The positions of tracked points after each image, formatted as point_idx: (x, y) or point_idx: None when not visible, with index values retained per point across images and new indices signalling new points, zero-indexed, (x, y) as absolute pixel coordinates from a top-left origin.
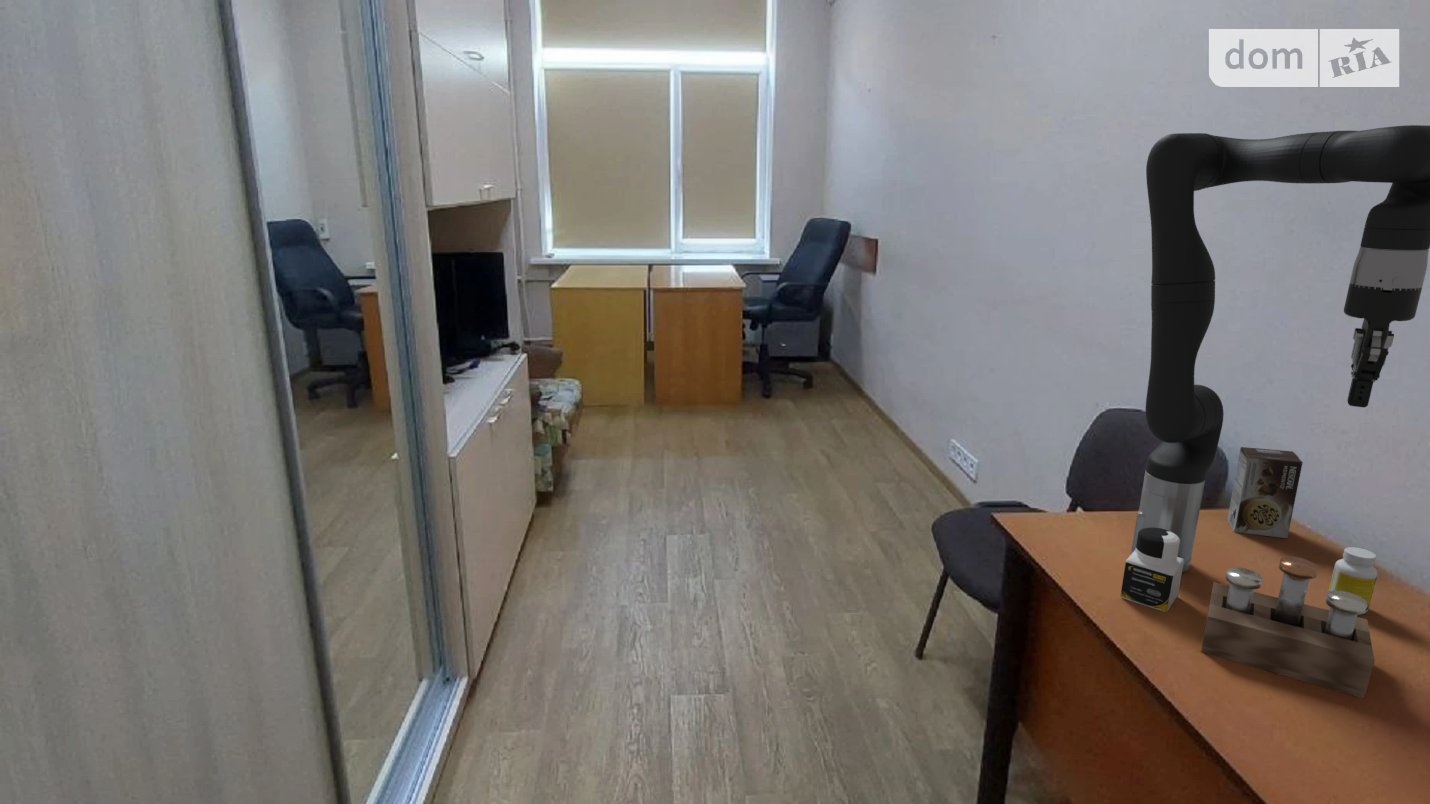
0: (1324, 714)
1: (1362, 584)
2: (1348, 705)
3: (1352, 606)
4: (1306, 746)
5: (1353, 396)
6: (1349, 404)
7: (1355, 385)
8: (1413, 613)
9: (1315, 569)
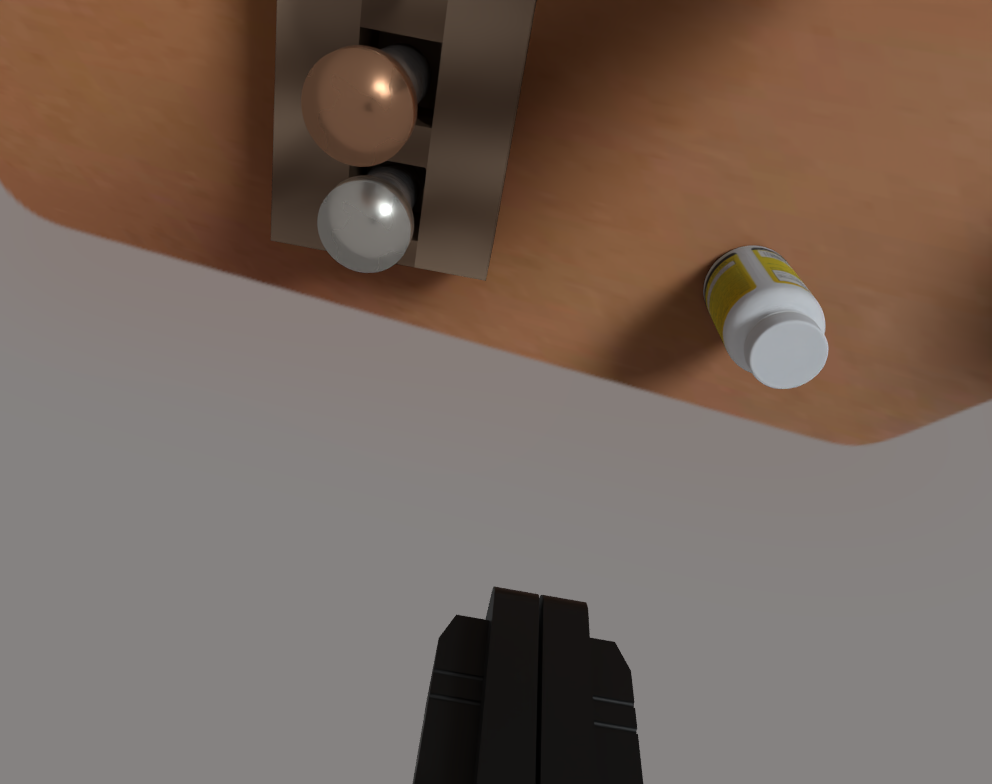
0: (188, 112)
1: (719, 327)
2: (255, 170)
3: (318, 230)
4: (36, 46)
5: (447, 662)
6: (494, 591)
7: (474, 765)
8: (752, 411)
9: (333, 153)
